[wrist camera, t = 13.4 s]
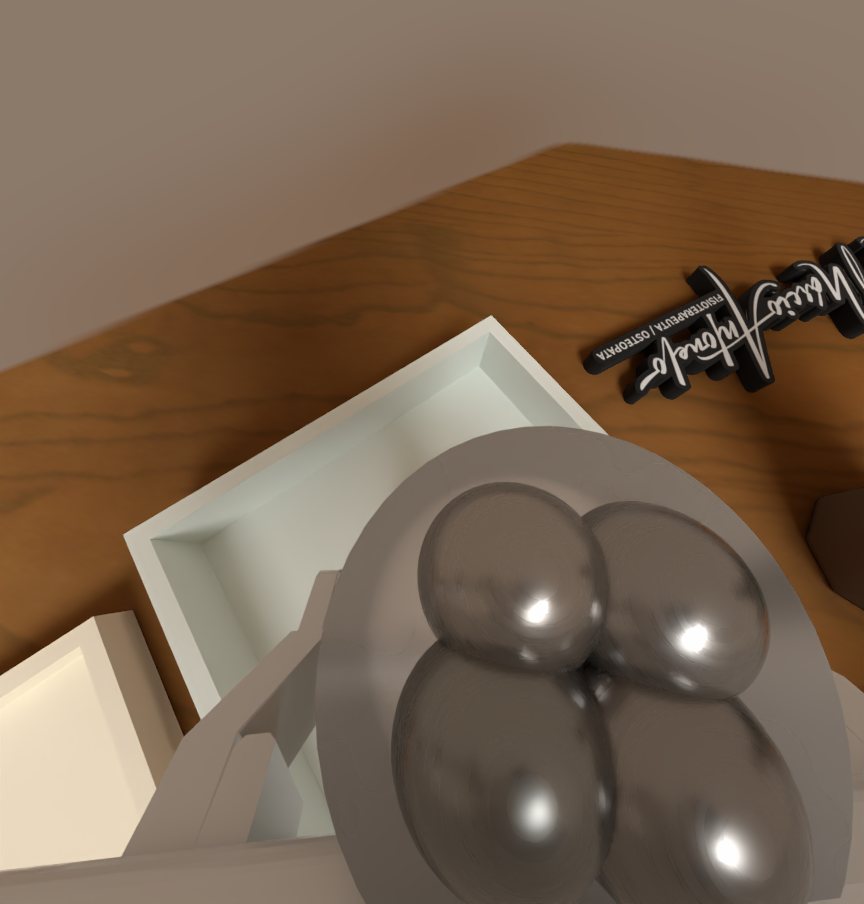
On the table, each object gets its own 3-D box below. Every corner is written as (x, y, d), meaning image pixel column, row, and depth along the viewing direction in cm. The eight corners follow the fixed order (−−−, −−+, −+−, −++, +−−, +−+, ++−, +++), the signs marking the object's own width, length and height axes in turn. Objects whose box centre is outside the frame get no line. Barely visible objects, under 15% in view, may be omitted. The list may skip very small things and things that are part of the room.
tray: (-137, 785, 13) (-230, 822, 11) (132, 610, 16) (93, 616, 14) (-88, 1128, 10) (-200, 1253, 8) (229, 849, 13) (196, 898, 11)
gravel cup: (373, 573, 15) (154, 618, 3) (465, 504, 16) (612, 312, 4) (444, 685, 13) (706, 1933, 1) (538, 600, 15) (1137, 779, 2)
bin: (189, 541, 17) (123, 534, 13) (478, 359, 21) (491, 315, 18) (404, 987, 12) (397, 1186, 8) (722, 626, 16) (813, 645, 13)
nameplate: (828, 206, 26) (938, 288, 24) (806, 224, 28) (908, 304, 25) (567, 326, 21) (671, 451, 18) (558, 342, 22) (652, 459, 20)
